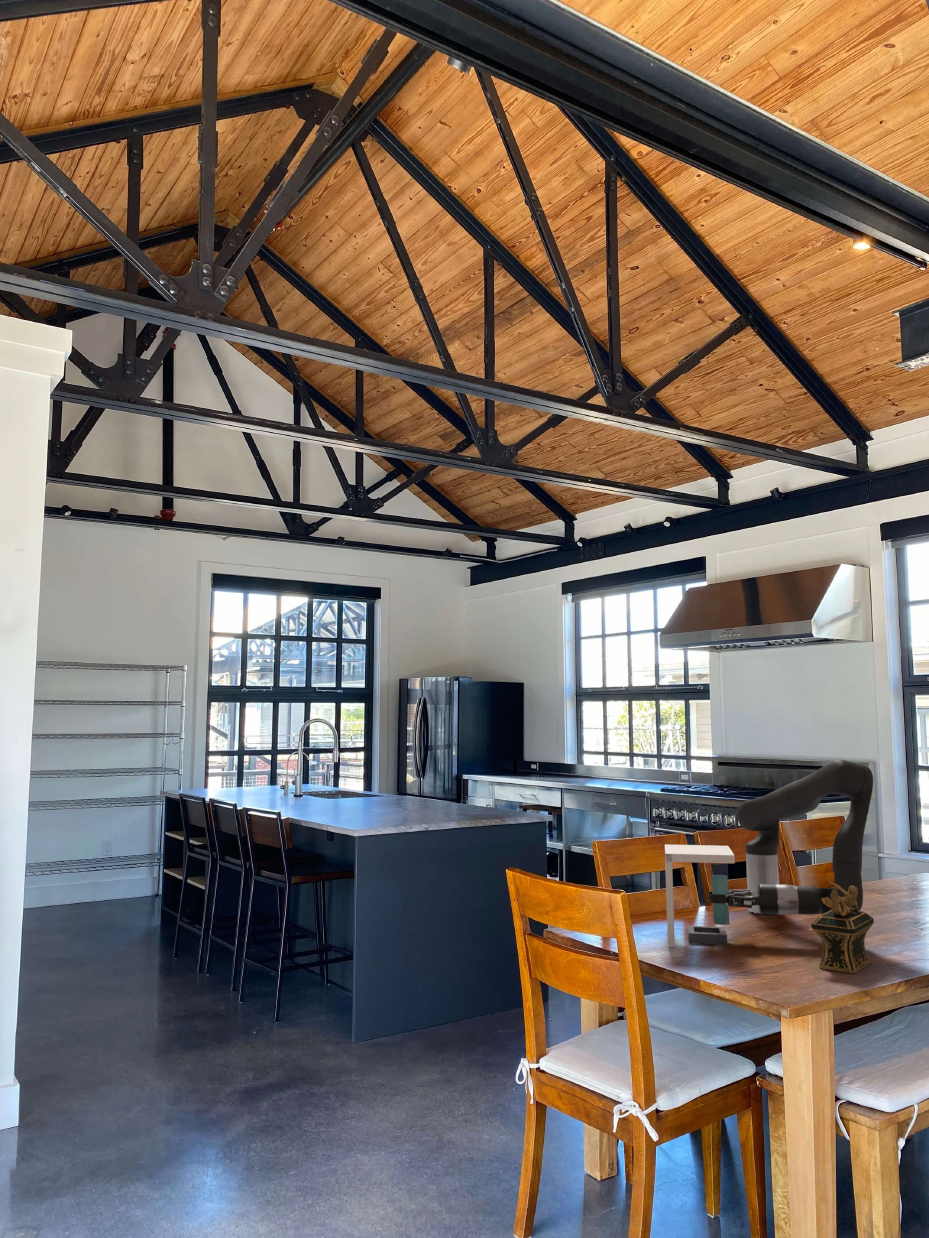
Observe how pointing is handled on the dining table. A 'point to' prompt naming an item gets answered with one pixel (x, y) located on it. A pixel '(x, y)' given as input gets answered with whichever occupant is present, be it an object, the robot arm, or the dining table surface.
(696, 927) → the socket
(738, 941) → the dining table surface
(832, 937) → the decorative box
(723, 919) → the peg
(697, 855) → the white inverted l bracket
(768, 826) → the robot arm
